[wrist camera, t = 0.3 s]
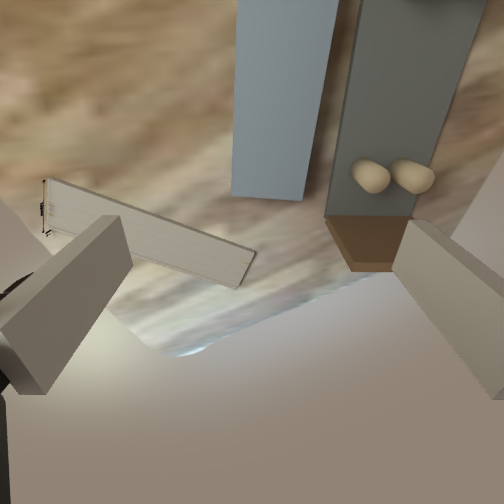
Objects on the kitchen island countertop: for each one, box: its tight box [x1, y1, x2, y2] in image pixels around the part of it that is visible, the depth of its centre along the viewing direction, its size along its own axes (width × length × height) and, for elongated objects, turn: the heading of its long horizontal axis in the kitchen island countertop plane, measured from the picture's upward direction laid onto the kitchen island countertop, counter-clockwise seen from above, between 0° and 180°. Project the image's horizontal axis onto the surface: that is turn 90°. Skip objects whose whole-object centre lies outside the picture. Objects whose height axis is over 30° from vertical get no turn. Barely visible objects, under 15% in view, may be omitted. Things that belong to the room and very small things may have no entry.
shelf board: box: [231, 0, 339, 201], centre depth 28 cm, size 9×26×4 cm, turn 176°
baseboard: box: [40, 177, 255, 290], centre depth 41 cm, size 30×3×10 cm
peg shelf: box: [324, 0, 487, 272], centre depth 25 cm, size 12×33×13 cm, turn 179°
